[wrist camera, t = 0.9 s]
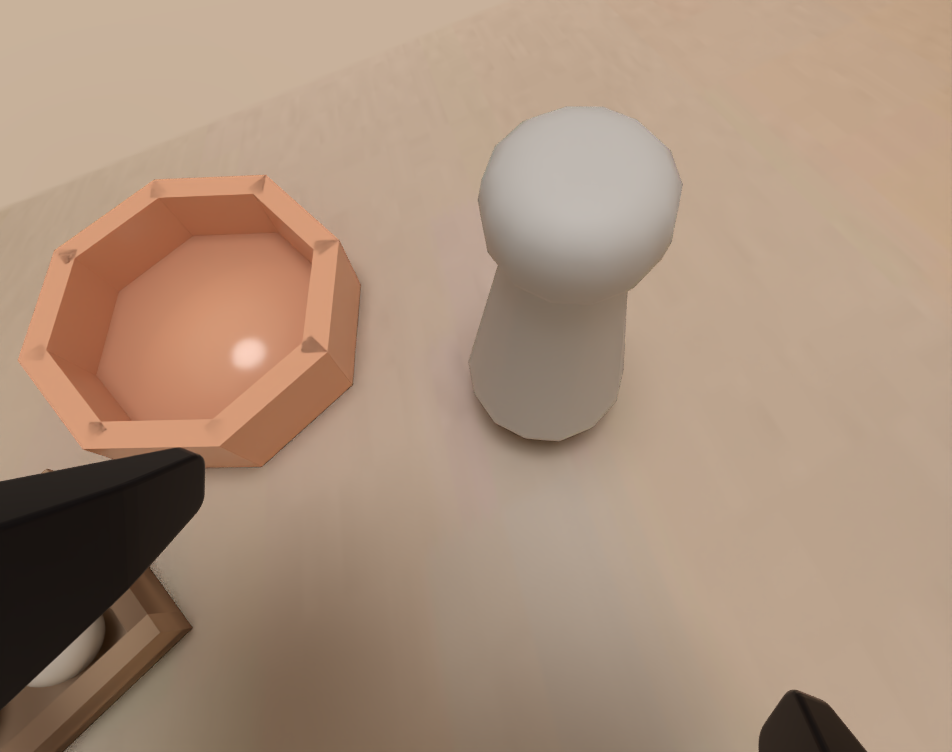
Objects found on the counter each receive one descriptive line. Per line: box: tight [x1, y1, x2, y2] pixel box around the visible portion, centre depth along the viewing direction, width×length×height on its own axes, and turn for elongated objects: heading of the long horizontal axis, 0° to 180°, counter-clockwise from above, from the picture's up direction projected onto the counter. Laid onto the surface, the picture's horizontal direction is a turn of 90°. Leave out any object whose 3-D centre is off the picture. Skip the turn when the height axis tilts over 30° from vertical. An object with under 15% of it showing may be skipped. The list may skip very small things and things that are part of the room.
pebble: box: [27, 614, 106, 688], centre depth 18 cm, size 3×3×3 cm
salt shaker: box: [469, 107, 683, 441], centre depth 17 cm, size 6×6×13 cm
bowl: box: [18, 175, 361, 468], centre depth 23 cm, size 12×12×4 cm
